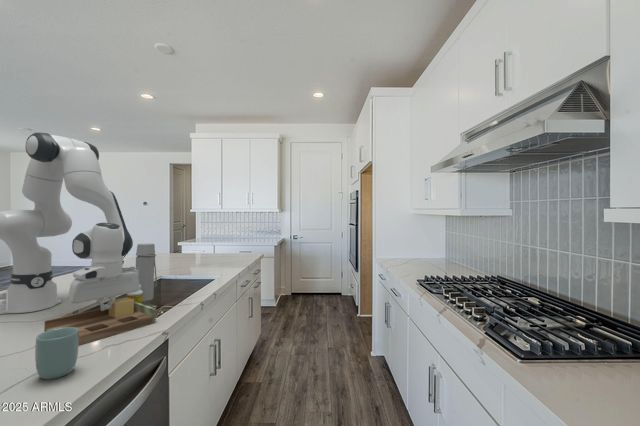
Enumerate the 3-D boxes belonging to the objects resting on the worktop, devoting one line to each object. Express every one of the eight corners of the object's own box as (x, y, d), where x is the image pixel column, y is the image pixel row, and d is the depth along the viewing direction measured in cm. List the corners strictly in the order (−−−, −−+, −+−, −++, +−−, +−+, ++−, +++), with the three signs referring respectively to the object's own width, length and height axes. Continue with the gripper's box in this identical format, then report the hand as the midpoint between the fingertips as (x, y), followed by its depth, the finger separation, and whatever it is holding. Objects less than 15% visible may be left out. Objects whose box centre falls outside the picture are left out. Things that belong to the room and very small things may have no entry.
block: (108, 315, 106) (108, 301, 106) (126, 310, 111) (127, 297, 111) (115, 318, 103) (115, 303, 103) (133, 313, 108) (134, 299, 108)
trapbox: (44, 336, 93) (44, 319, 93) (132, 314, 115) (133, 299, 115) (64, 349, 84) (64, 330, 84) (155, 322, 106) (155, 307, 107)
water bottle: (141, 303, 128) (143, 245, 128) (130, 300, 131) (132, 244, 131) (161, 298, 136) (162, 243, 136) (150, 296, 139) (152, 242, 140)
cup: (34, 374, 72) (35, 332, 72) (75, 363, 77) (77, 324, 77) (34, 388, 66) (36, 342, 66) (79, 375, 72) (80, 333, 72)
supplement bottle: (134, 312, 117) (135, 287, 117) (122, 311, 118) (123, 286, 118) (145, 308, 122) (146, 284, 122) (134, 307, 123) (134, 283, 123)
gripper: (134, 265, 114) (133, 301, 114) (67, 273, 96) (66, 316, 96) (143, 266, 110) (142, 304, 110) (75, 275, 93) (74, 320, 93)
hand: (106, 310), depth 103 cm, fingers closed
